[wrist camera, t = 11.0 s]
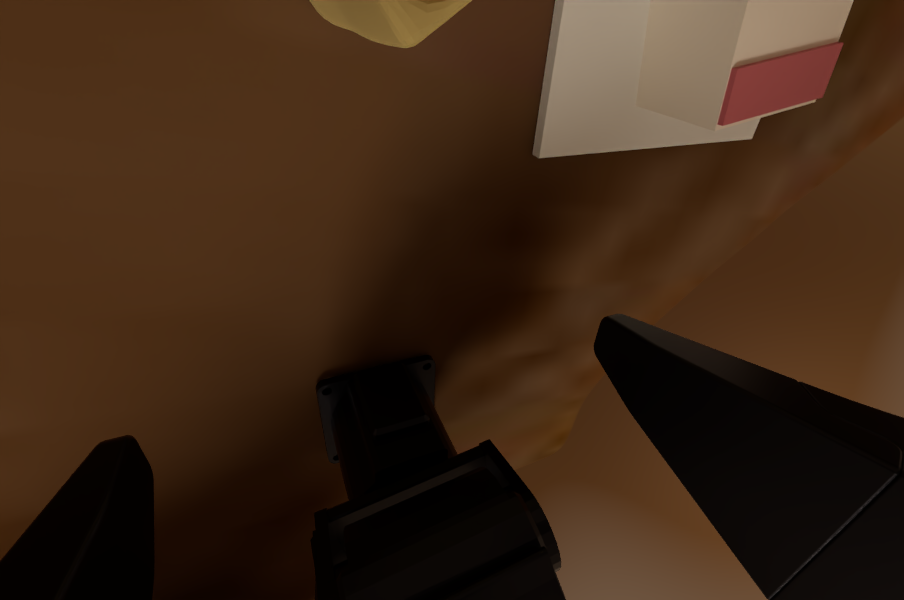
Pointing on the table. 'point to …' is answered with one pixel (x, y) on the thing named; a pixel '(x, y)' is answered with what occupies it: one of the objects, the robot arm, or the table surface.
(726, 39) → the card box
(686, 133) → the grey mat
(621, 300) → the table surface
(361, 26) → the cheese
